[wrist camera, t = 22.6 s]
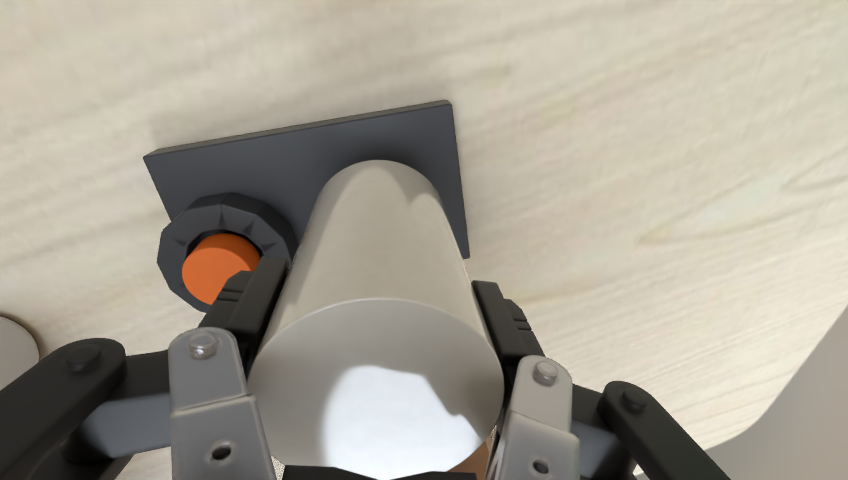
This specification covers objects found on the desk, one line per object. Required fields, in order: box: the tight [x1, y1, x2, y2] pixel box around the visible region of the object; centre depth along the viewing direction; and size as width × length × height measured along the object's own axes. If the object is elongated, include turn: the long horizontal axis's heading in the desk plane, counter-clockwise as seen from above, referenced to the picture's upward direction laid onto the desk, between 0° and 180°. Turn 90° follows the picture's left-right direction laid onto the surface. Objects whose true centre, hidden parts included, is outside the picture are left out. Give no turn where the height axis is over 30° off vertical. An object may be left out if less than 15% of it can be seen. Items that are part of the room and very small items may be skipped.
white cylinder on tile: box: [246, 160, 505, 480], centre depth 14 cm, size 6×6×10 cm
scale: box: [143, 100, 470, 313], centre depth 21 cm, size 14×8×3 cm, turn 99°
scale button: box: [182, 233, 261, 305], centre depth 20 cm, size 3×3×2 cm
